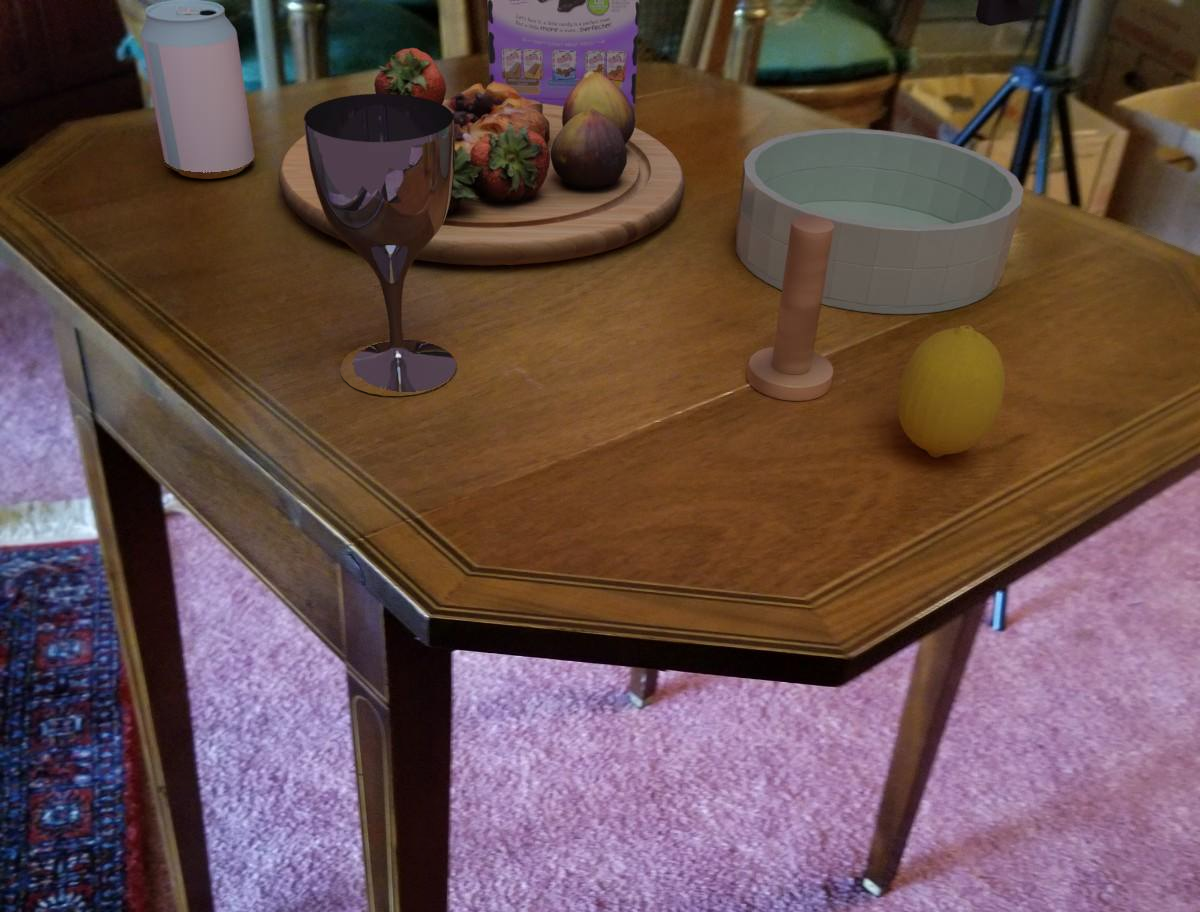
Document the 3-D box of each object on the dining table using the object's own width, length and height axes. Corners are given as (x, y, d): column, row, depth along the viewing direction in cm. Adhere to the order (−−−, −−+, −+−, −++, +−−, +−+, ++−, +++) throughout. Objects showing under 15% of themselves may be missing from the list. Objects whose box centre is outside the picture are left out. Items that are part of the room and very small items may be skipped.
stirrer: (848, 383, 75) (878, 227, 68) (792, 410, 72) (818, 249, 65) (785, 351, 77) (808, 199, 71) (729, 376, 75) (747, 219, 68)
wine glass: (444, 329, 78) (432, 88, 69) (479, 388, 72) (472, 134, 63) (321, 346, 76) (291, 99, 66) (347, 409, 70) (319, 148, 60)
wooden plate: (260, 137, 104) (246, 35, 99) (609, 113, 113) (613, 17, 107) (311, 296, 81) (296, 173, 76) (746, 250, 89) (759, 137, 84)
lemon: (882, 474, 67) (911, 343, 62) (888, 423, 71) (916, 297, 66) (984, 490, 66) (1022, 359, 61) (984, 438, 70) (1019, 311, 65)
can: (217, 146, 102) (192, -9, 95) (273, 166, 99) (252, 8, 91) (148, 168, 98) (115, 8, 90) (204, 190, 95) (175, 26, 87)
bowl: (1054, 265, 89) (1077, 185, 86) (891, 342, 79) (909, 254, 75) (848, 186, 100) (860, 112, 97) (681, 244, 90) (687, 163, 86)
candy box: (632, 92, 118) (642, -100, 107) (635, 111, 113) (645, -87, 103) (491, 87, 117) (487, -106, 107) (487, 106, 113) (483, -93, 102)
